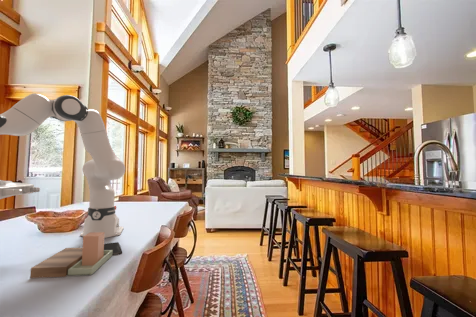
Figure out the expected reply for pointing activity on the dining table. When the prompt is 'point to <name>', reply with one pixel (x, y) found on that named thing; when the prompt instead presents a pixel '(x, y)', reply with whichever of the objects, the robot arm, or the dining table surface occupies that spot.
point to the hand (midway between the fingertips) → (30, 190)
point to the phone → (113, 248)
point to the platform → (57, 264)
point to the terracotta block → (92, 248)
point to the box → (88, 266)
